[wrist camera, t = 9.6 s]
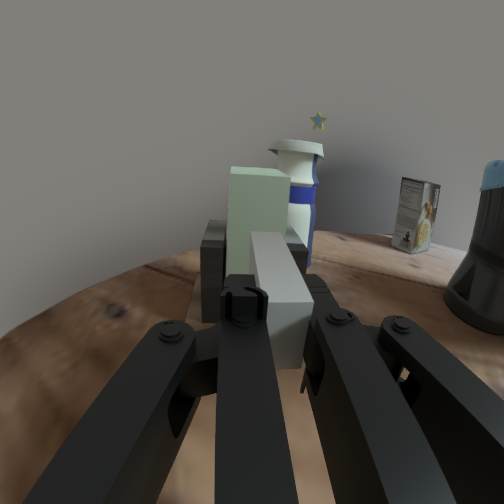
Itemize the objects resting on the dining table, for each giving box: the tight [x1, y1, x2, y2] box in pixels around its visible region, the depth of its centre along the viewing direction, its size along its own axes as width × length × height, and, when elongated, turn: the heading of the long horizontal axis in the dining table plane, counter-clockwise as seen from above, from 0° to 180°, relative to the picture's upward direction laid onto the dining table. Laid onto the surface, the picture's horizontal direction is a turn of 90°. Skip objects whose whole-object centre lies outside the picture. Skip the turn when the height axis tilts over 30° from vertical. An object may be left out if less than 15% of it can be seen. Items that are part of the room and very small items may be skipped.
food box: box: [391, 177, 441, 254], centre depth 56 cm, size 9×6×16 cm
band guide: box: [185, 220, 309, 331], centre depth 30 cm, size 15×13×9 cm
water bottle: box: [268, 111, 327, 268], centre depth 42 cm, size 8×9×25 cm
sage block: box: [226, 167, 291, 277], centre depth 29 cm, size 9×5×14 cm, turn 3°
